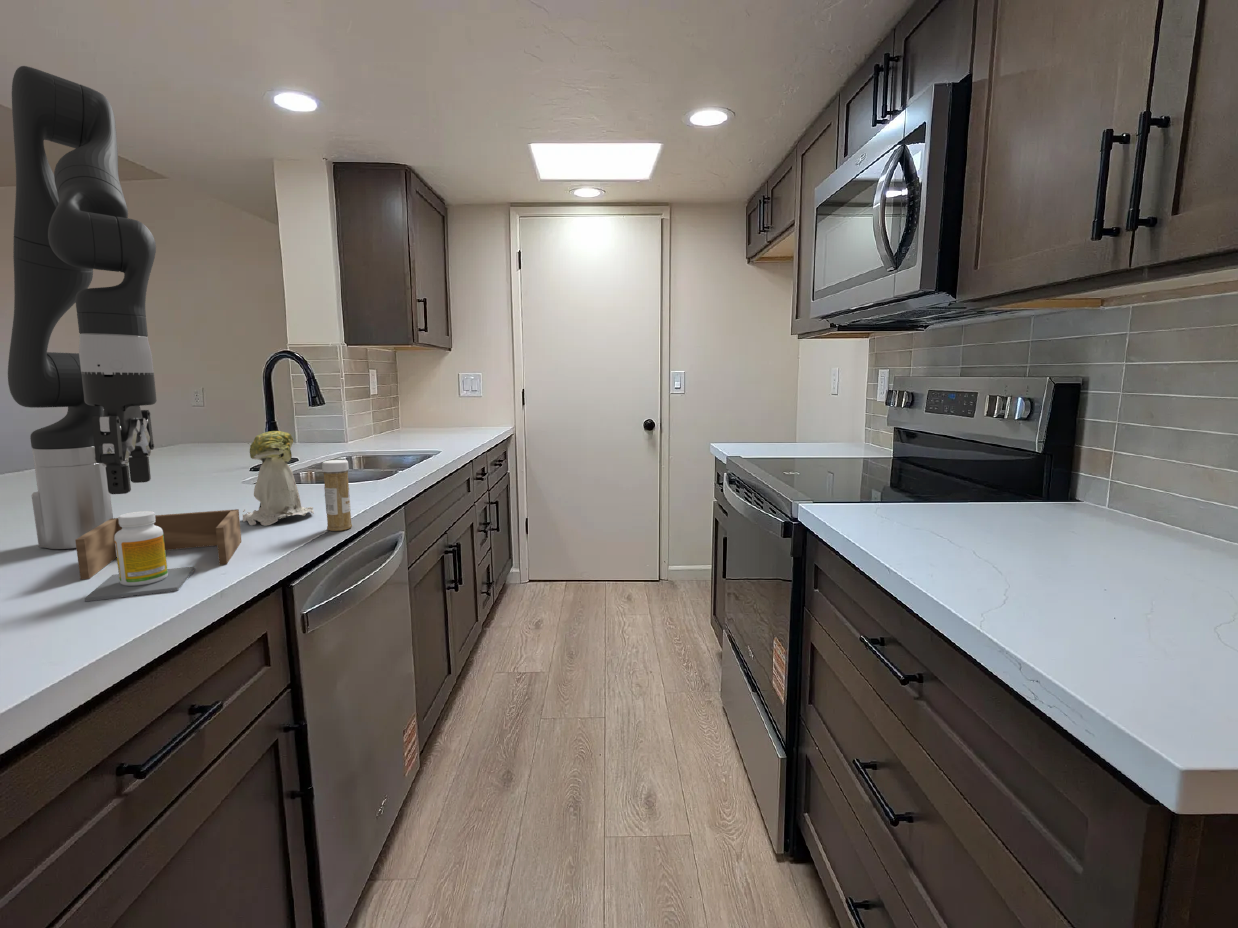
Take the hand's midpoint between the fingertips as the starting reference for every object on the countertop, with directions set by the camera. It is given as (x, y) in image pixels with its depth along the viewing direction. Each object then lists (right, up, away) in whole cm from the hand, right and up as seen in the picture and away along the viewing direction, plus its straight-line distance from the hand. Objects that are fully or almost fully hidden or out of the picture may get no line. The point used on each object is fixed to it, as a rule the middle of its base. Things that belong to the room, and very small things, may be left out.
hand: (131, 487), depth 82 cm
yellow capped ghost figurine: (-3, -8, +42) cm, 43 cm away
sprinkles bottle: (+13, -10, +33) cm, 37 cm away
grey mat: (0, -14, +2) cm, 14 cm away
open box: (-5, -12, +14) cm, 19 cm away
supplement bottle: (0, -14, +2) cm, 14 cm away
